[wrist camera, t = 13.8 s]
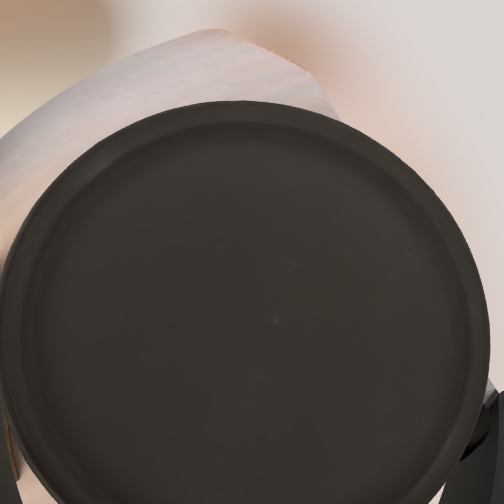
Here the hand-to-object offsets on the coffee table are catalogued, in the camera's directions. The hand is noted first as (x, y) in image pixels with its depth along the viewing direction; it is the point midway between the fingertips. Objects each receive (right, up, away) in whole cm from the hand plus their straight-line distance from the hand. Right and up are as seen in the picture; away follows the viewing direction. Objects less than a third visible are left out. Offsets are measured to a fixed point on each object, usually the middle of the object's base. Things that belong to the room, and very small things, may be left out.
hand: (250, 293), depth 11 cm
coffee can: (-1, -5, +6) cm, 8 cm away
